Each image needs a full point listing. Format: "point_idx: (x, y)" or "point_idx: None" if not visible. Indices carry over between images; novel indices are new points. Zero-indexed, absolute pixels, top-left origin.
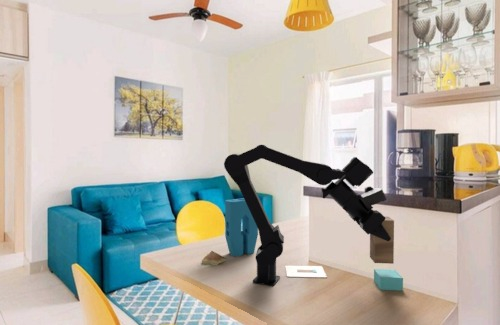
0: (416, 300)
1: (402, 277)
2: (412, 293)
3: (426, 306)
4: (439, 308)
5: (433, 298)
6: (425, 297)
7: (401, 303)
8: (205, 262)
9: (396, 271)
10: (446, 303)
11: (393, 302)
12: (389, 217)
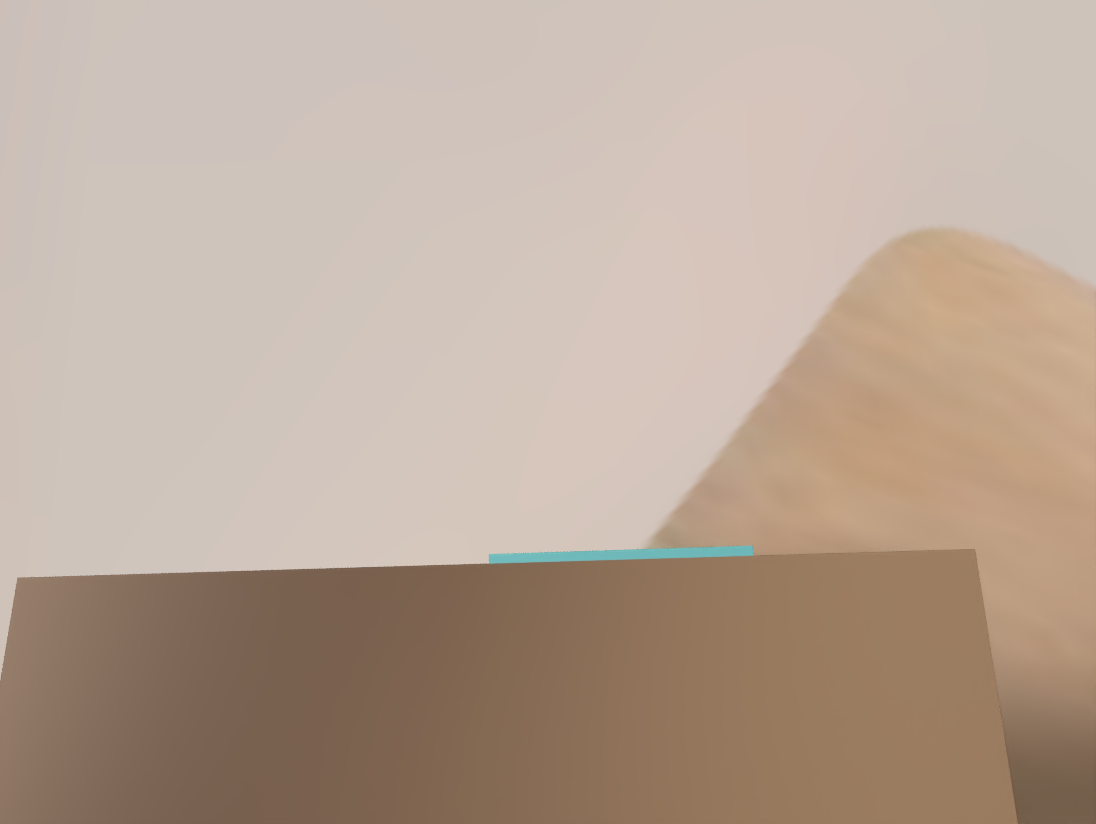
0: (952, 506)
1: (734, 546)
2: (790, 491)
3: (1068, 458)
4: (1077, 359)
5: (866, 337)
6: (860, 400)
7: (1068, 683)
8: None
9: (548, 559)
10: (950, 266)
11: (1068, 764)
12: (233, 572)
